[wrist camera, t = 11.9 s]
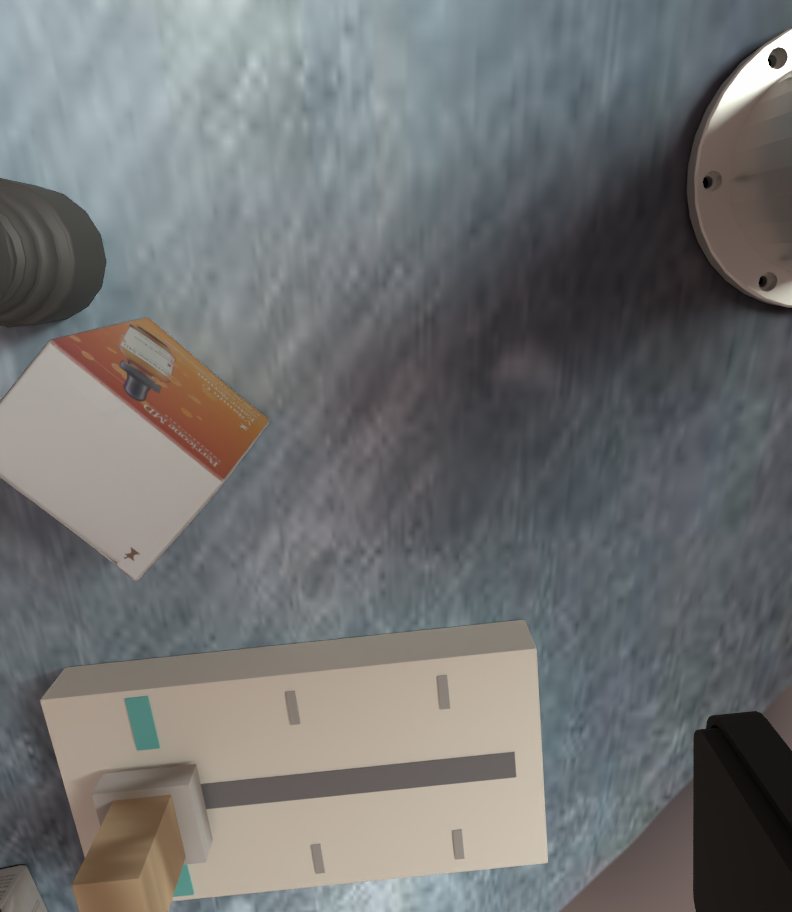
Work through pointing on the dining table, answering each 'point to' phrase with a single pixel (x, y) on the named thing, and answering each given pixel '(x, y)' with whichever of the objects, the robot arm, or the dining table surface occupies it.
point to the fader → (143, 839)
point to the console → (325, 753)
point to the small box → (123, 438)
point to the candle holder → (45, 256)
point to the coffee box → (19, 891)
